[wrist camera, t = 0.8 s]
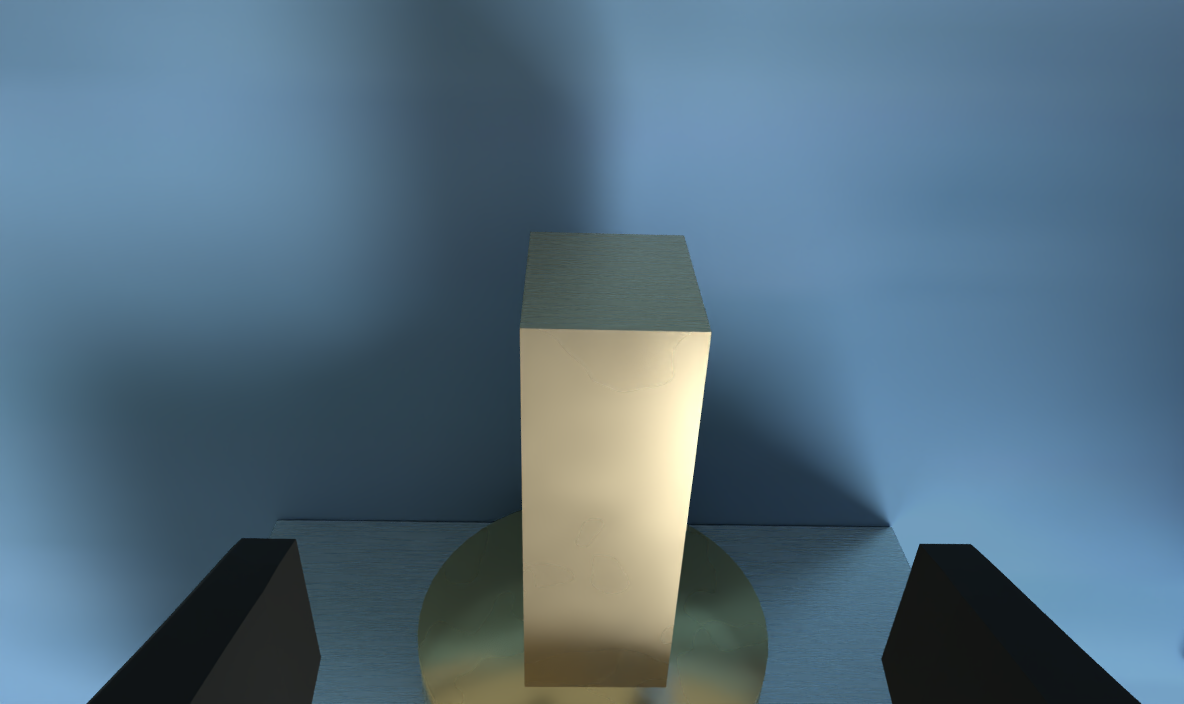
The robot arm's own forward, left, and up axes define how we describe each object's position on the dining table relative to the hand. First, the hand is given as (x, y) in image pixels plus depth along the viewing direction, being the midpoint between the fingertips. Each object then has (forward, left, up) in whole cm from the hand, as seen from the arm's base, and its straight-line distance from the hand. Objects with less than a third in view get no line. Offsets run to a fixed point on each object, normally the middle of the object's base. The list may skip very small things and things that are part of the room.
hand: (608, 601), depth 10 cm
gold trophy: (0, +4, -7) cm, 8 cm away
